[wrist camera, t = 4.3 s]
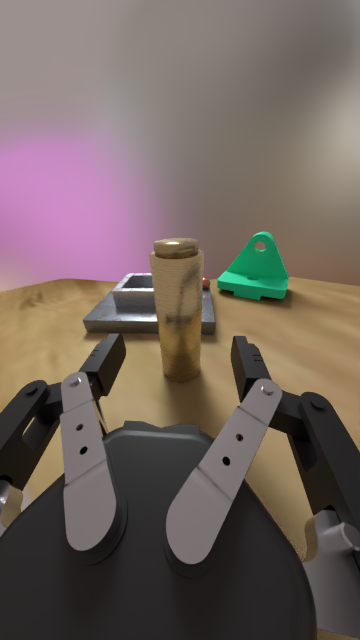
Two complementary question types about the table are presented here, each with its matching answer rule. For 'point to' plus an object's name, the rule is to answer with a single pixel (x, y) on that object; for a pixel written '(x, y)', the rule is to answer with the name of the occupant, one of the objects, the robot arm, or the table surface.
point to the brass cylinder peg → (178, 304)
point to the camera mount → (256, 271)
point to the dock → (138, 308)
